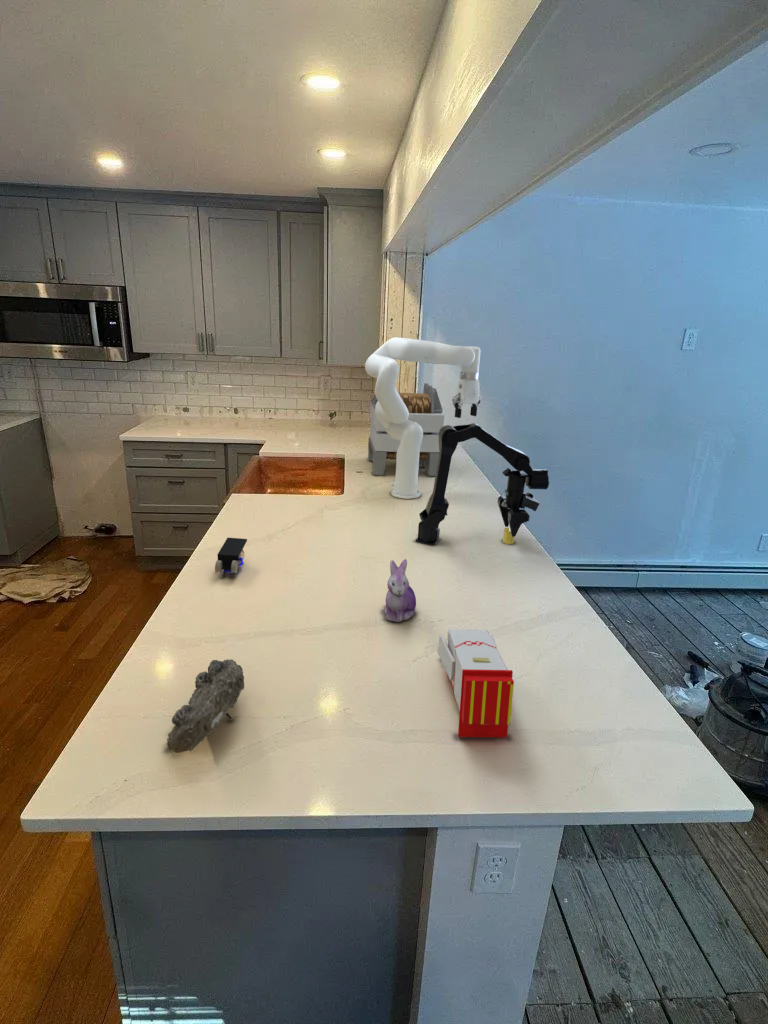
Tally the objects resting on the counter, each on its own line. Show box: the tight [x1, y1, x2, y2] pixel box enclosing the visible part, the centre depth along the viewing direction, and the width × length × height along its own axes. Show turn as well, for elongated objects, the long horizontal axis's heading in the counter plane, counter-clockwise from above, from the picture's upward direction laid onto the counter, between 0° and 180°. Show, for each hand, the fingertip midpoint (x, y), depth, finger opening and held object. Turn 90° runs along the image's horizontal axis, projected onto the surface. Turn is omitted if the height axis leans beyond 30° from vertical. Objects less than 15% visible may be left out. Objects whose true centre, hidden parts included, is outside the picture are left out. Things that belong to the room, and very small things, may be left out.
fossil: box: [166, 658, 245, 754], centre depth 106 cm, size 22×10×15 cm
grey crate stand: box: [367, 382, 445, 477], centre depth 277 cm, size 34×33×41 cm
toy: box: [437, 628, 515, 738], centre depth 117 cm, size 12×13×30 cm
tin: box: [502, 527, 516, 545], centre depth 196 cm, size 4×4×5 cm
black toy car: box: [214, 537, 248, 578], centre depth 166 cm, size 7×8×15 cm
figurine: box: [384, 558, 417, 623], centre depth 145 cm, size 9×10×15 cm
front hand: (509, 531), depth 196 cm, fingers open, 9 cm apart
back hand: (465, 416), depth 247 cm, fingers open, 9 cm apart
